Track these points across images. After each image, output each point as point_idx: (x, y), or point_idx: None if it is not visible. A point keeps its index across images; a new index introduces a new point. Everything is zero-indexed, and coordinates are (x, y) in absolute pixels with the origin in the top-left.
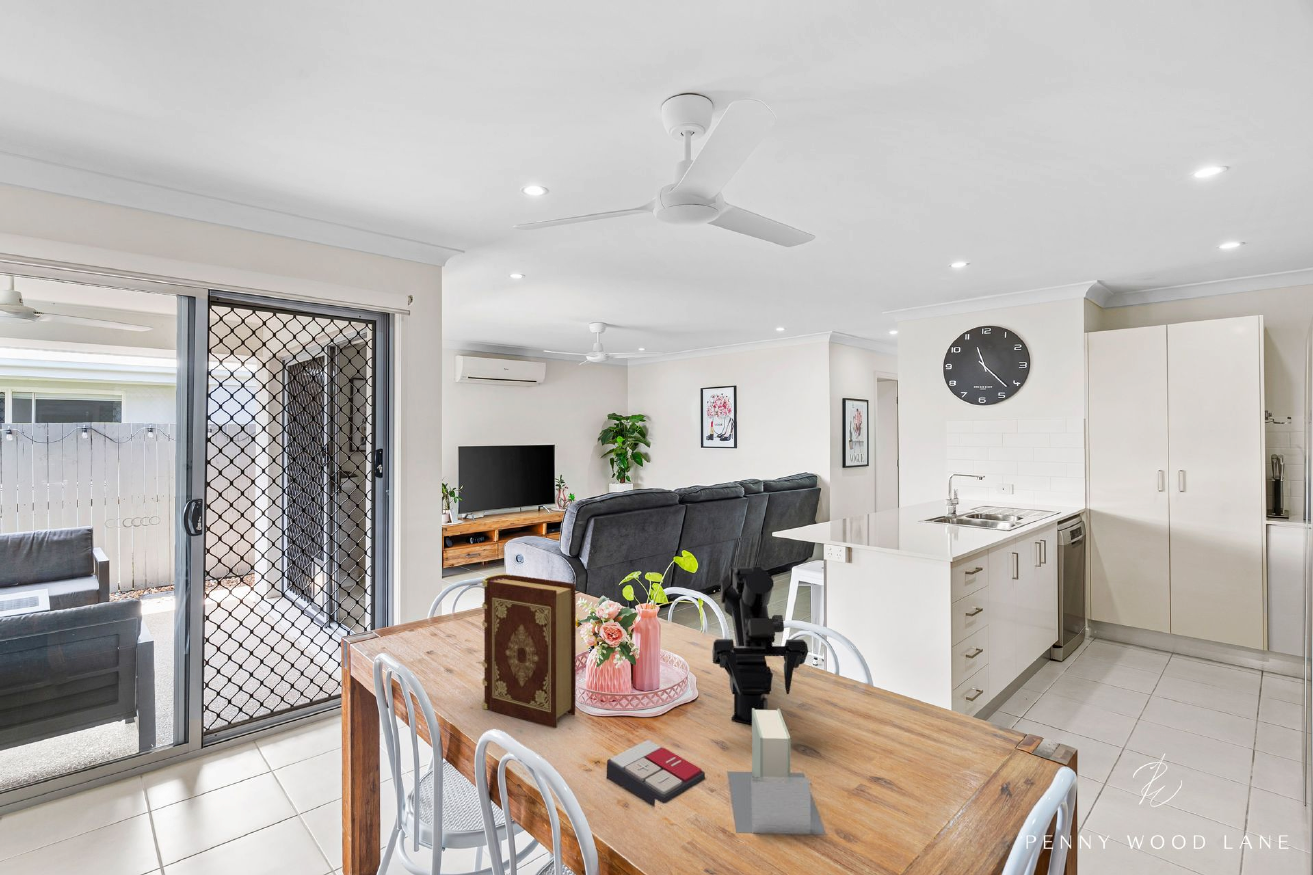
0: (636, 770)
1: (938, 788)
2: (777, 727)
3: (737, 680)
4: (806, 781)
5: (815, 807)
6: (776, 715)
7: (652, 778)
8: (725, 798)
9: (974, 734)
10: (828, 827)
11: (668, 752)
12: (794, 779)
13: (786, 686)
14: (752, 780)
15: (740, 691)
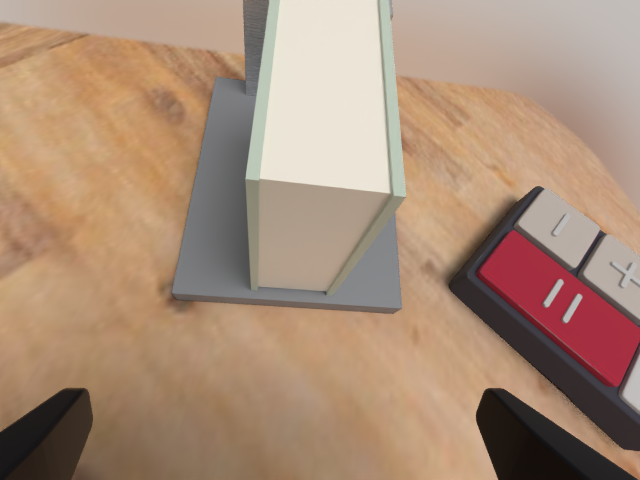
0: (635, 262)
1: None
2: (304, 36)
3: (587, 452)
4: None
5: (203, 148)
6: (281, 127)
7: (586, 232)
8: (398, 235)
9: None
10: (192, 129)
11: (591, 354)
12: None
13: (56, 441)
14: (390, 2)
15: (496, 389)
